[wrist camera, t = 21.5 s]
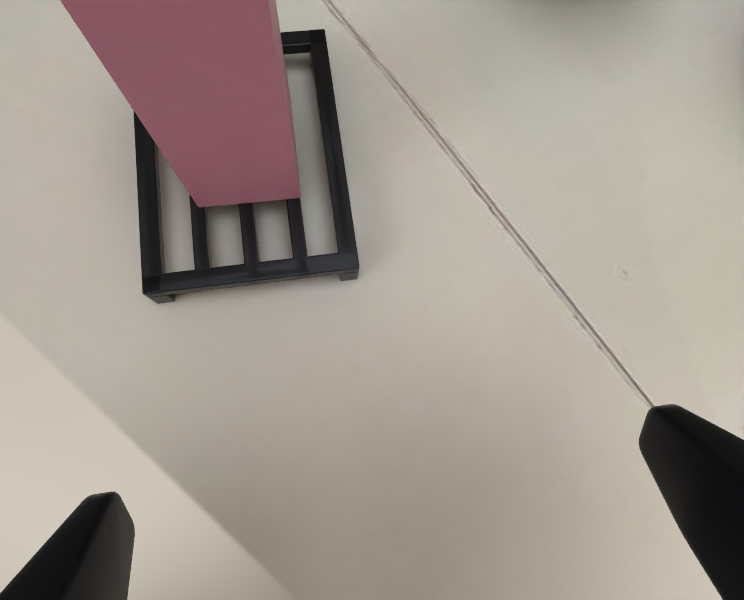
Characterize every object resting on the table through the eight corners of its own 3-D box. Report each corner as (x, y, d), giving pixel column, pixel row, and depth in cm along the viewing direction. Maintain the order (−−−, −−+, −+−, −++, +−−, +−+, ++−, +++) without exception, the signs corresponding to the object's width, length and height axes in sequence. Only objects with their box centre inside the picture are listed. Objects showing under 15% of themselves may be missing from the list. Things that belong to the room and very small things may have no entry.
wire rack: (357, 278, 23) (359, 268, 21) (157, 303, 22) (142, 294, 21) (325, 54, 26) (324, 28, 24) (144, 69, 25) (129, 42, 23)
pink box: (300, 198, 22) (252, -95, 9) (198, 207, 22) (1, -86, 9) (290, 97, 23) (232, -288, 10) (192, 104, 23) (8, -288, 10)
